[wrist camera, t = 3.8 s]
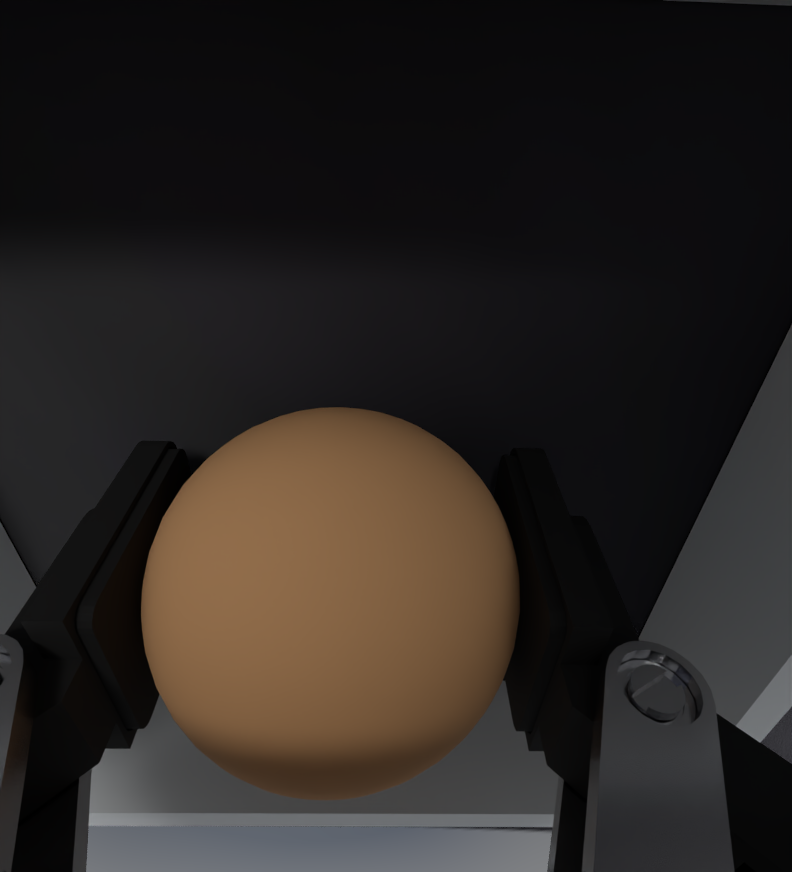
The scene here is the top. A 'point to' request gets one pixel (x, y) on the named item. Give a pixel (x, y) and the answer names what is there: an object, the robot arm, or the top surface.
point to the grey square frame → (494, 733)
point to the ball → (330, 603)
